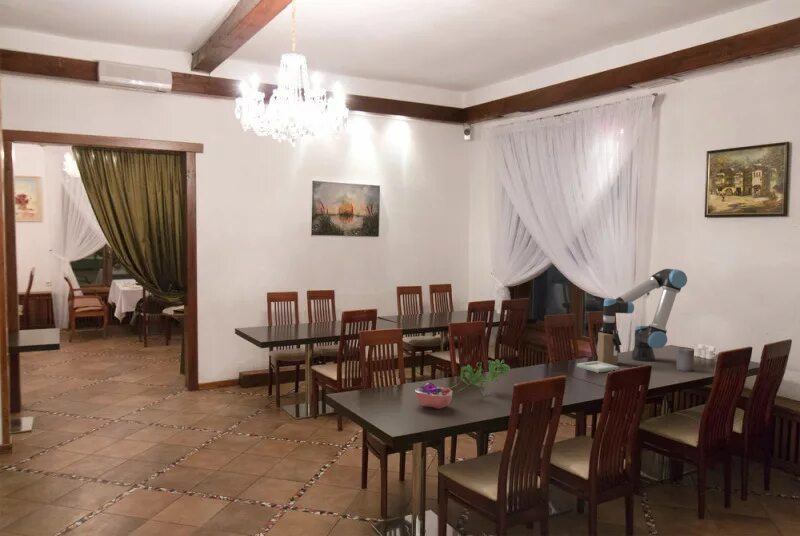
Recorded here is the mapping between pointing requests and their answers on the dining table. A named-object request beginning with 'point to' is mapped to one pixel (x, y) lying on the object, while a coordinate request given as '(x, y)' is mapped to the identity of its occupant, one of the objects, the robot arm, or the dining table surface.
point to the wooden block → (606, 349)
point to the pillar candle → (685, 359)
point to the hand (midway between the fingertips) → (607, 353)
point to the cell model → (433, 396)
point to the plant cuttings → (477, 380)
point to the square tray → (597, 366)
